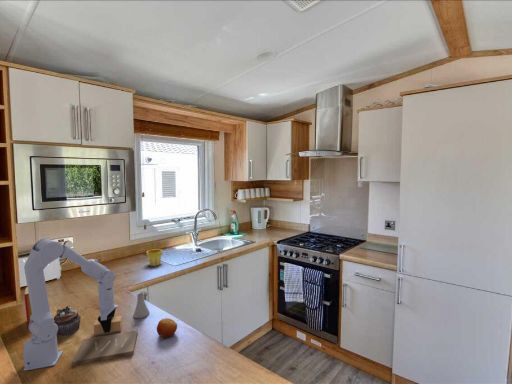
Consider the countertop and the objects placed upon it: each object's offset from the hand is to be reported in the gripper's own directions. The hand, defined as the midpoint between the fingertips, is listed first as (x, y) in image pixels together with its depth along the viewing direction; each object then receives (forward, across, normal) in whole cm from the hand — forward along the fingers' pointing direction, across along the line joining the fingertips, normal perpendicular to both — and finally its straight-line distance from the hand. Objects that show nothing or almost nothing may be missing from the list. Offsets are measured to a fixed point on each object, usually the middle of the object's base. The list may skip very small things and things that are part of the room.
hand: (108, 327), depth 123 cm
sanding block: (+2, 0, 0) cm, 2 cm away
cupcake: (+2, +6, +17) cm, 18 cm away
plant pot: (+2, +81, -14) cm, 82 cm away
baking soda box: (+2, +18, +33) cm, 38 cm away
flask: (+2, +10, -12) cm, 16 cm away
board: (+1, -13, -2) cm, 13 cm away
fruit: (+2, -11, -24) cm, 26 cm away
